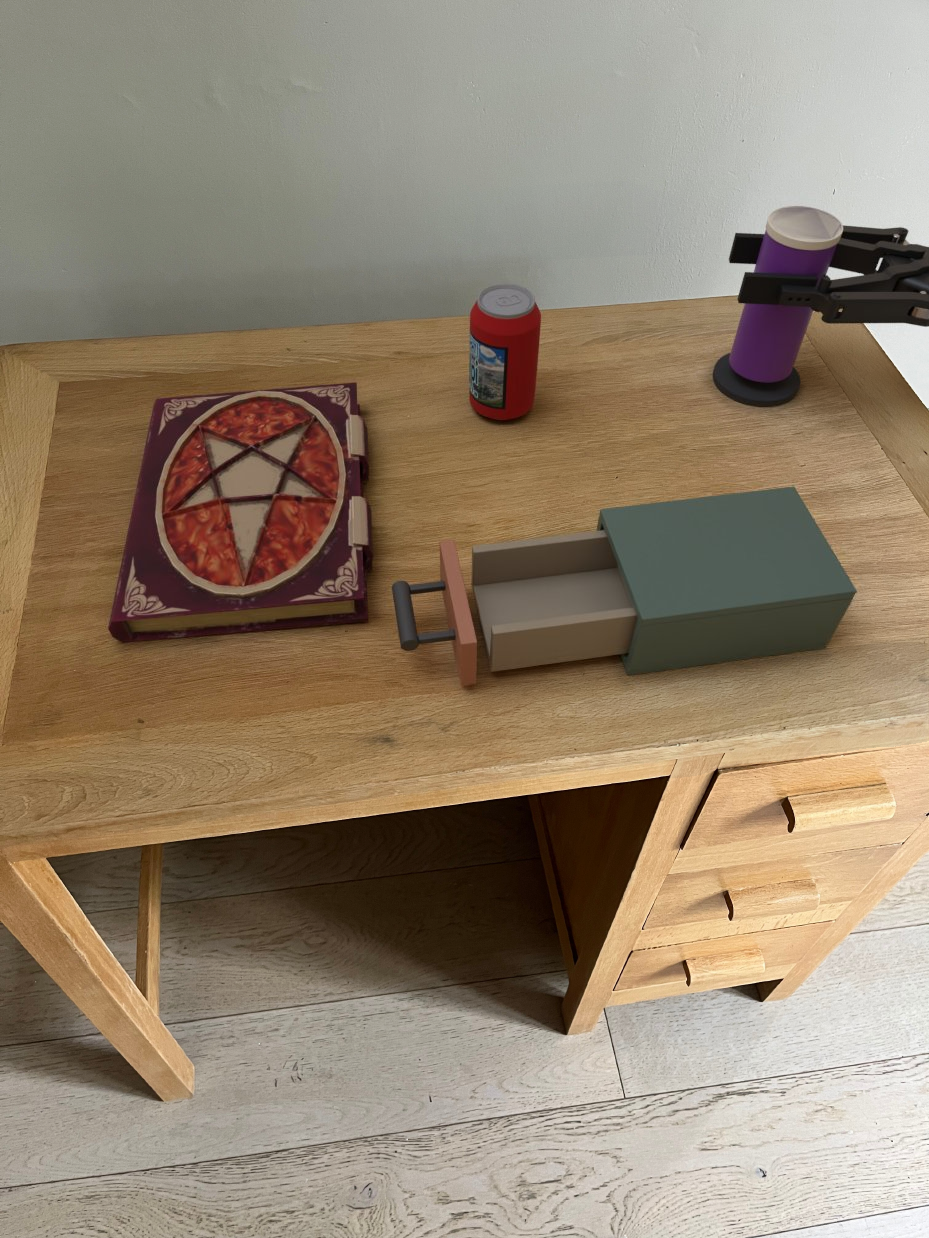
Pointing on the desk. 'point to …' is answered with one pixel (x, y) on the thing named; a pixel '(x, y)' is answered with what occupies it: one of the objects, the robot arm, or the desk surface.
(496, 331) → the beverage can
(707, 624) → the cabinet
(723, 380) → the coaster
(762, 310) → the tube
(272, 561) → the book
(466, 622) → the drawer
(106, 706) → the desk surface
